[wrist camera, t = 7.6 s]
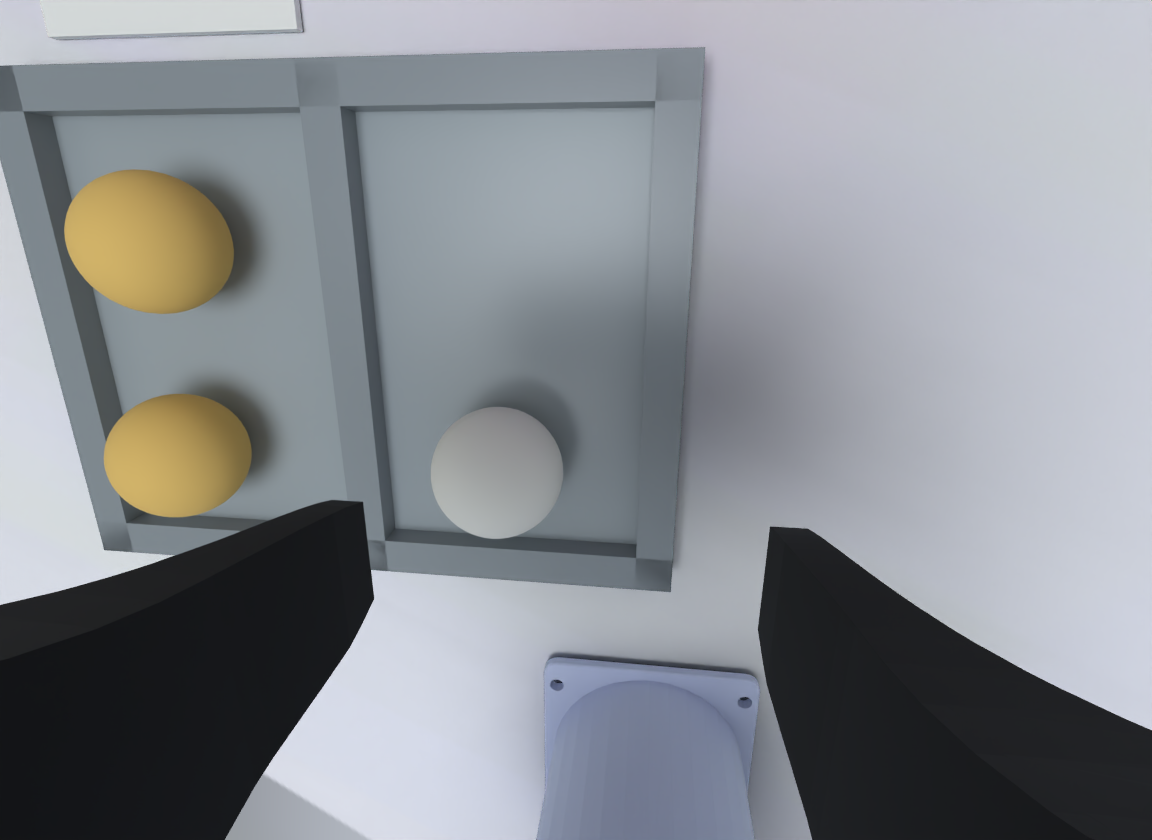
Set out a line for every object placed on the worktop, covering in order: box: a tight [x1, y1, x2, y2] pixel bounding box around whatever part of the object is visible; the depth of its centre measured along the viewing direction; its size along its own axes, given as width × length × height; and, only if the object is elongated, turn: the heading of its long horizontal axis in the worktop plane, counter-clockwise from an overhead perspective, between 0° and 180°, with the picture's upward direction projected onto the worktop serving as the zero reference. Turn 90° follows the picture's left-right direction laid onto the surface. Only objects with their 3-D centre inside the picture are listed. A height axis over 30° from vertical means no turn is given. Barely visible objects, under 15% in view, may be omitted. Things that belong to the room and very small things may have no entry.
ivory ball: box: [431, 407, 563, 539], centre depth 18 cm, size 4×4×4 cm
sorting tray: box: [0, 47, 705, 592], centre depth 20 cm, size 16×21×1 cm
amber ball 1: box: [64, 169, 234, 314], centre depth 17 cm, size 4×4×4 cm
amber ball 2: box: [104, 394, 252, 517], centre depth 20 cm, size 4×4×4 cm
